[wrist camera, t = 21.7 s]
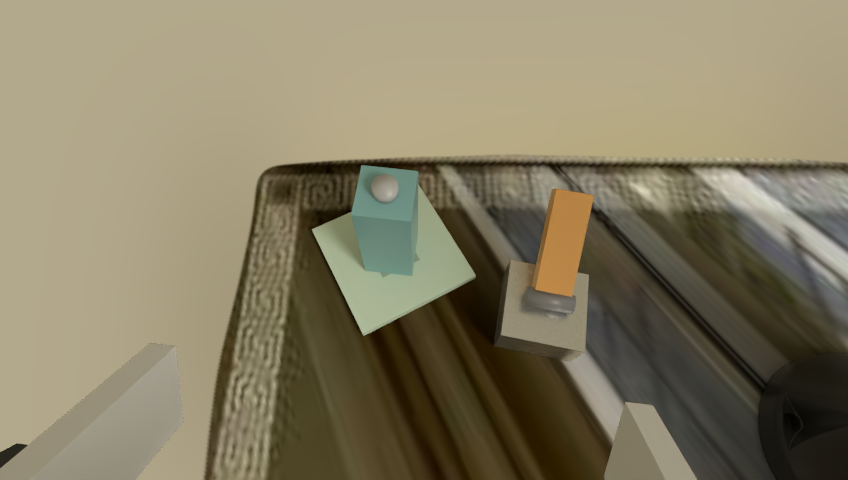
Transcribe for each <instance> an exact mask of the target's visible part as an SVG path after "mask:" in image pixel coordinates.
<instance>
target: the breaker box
mask: <svg viewBox="0 0 848 480" xmlns="http://www.w3.org/2000/svg"><path fill="white" fill-rule="evenodd" d="M535 268H536V264H531V263H526V262H520V261H515V260H510V262H509V265H508V267H507V269H506V271H505V273H504V275H503V281H502V288H501V295H500V302H499V310H498V317H497V324H496V332H495V339H494V346H496V347H501V348H506V349H511V350H516V351H521V352H526V353H530V354H535V355H540V356H545V357H550V358H555V359H560V360H564V361H569V362H571V361H572V360H574V359H575V358H577V357H578V356H580V355H581V354H583V353H585V344H586V323H587V303H588V282H589V275H588V274H583V273H577V276H576V281H575V285H574V290H573V294H572V295H575V296H576V307H575V310H574V313H573V314H568V313H563V312H558V311H552V310H547V309H542V308H537V307H532V306H527V305H524V303H523V301H524V294H525V290H526V287H527V286H529V287H533V286H532V282H533V277H534V273H535Z"/></svg>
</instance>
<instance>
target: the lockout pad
mask: <svg viewBox="0 0 848 480" xmlns="http://www.w3.org/2000/svg"><path fill="white" fill-rule="evenodd" d="M351 213H352V212H350V213H348V214H345V215H343V216H341V217H339V218H336V219H334V220H332V221H330V222H327V223H325V224H323V225H321V226H318V227H316V228H314V229H312V231H313V234H314V236H315V238H316V240H317V242H318V244H319V246H320V248H321V250H322V252H323V254H324V256H325V258H326V260H327V262H328V264H329V266H330V268H331V270H332V272H333V275H334V277H335V279H336V281H337V283H338V285H339V287H340V289H341V291H342V293H343V295H344V297H345V299H346V301H347V303H348V305H349V307H350V309H351V311H352V313H353V316H354V318H355V320H356V322H357V324H358V326H359V328H360V330H361V332H362V334H363V336H365V335H367V334H369V333H371V332H372V331H374V330H376V329H378V328H380V327H382V326H384V325H386V324H388V323H390V322H392V321H394V320H396V319H398V318H400V317H402V316H403V315H405V314H407V313H409V312H411V311H413V310H415V309H417V308H419V307H421V306H423V305H425V304H427V303H429V302H431V301H433V300H434V299H436V298H438V297H440V296H442V295H444V294H446V293H448V292H450V291H452V290H454V289H456V288H458V287H460V286H462V285H464V284H465V283H467V282H469V281H471V280H473V279H475V277H476V275H475V273H474V271H473V270H472V268H471V267H470V265H469V263H468V262H467V260H466V259H465V257H464V256H463V254H462V252H461V251H460V249H459V248H458V246H457V244H456V243H455V241H454V240H453V238H452V237H451V235H450V233H449V232H448V230H447V229H446V227H445V225H444V224H443V222H442V221H441V219H440V218H439V216H438V214H437V213H436V211H435V210H434V208H433V206H432V205H431V203H430V202H429V200H428V198H427V197H426V195H425V194H424V192H423V191H422V189H421V187H420V186H419V184H418V236H417V244H416V251H415V259H414V266H413V273H412V276H408V275H399V274H390V273H381V272H373V271H366V270H365V266H364V263H363V259H362V255H361V251H360V247H359V244H358V240H357V236H356V232H355V228H354V224H353V221H352V217H351Z"/></svg>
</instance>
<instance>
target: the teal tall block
mask: <svg viewBox="0 0 848 480" xmlns="http://www.w3.org/2000/svg"><path fill="white" fill-rule="evenodd" d="M351 217H352V221H353V224H354V228H355V232H356V236H357V240H358V244H359V247H360V251H361V255H362V259H363V263H364V266H365V270H366V271H373V272H381V273H390V274H399V275H408V276H412V273H413V266H414V259H415V251H416V244H417V236H418V171H412V170H402V169H393V168H383V167H374V166H364V165H361V170H360V175H359V180H358V184H357V189H356V194H355V198H354V203H353V208H352V213H351Z"/></svg>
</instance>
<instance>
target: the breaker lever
mask: <svg viewBox="0 0 848 480" xmlns="http://www.w3.org/2000/svg"><path fill="white" fill-rule="evenodd" d="M593 198H594V195H589V194H583V193H578V192H572V191H567V190H561V189H552V191H551V196H550V201H549V206H548V210H547V215H546V220H545V225H544V229H543V234H542V239H541V244H540V249H539V253H538V258H537V263H536V268H535V273H534V277H533V282H532V286H533V287H529V286H527V287H526V290H525V294H524V301H523V303H524V305H527V306H532V307H537V308H542V309H547V310H552V311H558V312H563V313H568V314H573V313H574V310H575V307H576V296H575V295H572V294H573V290H574V285H575V281H576V276H577V271H578V267H579V262H580V258H581V253H582V249H583V244H584V239H585V235H586V230H587V226H588V221H589V217H590V212H591V207H592V203H593Z"/></svg>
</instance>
